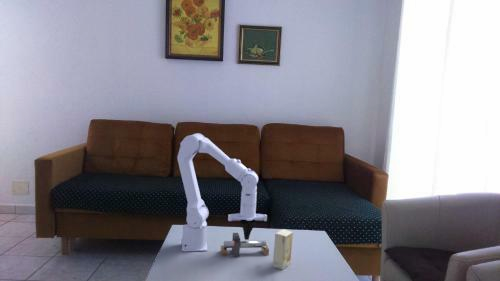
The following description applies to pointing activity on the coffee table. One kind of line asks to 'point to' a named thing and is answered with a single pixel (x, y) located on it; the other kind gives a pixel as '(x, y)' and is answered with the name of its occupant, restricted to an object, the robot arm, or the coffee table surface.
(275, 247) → the skincare box
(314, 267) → the coffee table surface
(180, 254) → the coffee table surface
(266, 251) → the pipe
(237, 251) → the grey square collar
